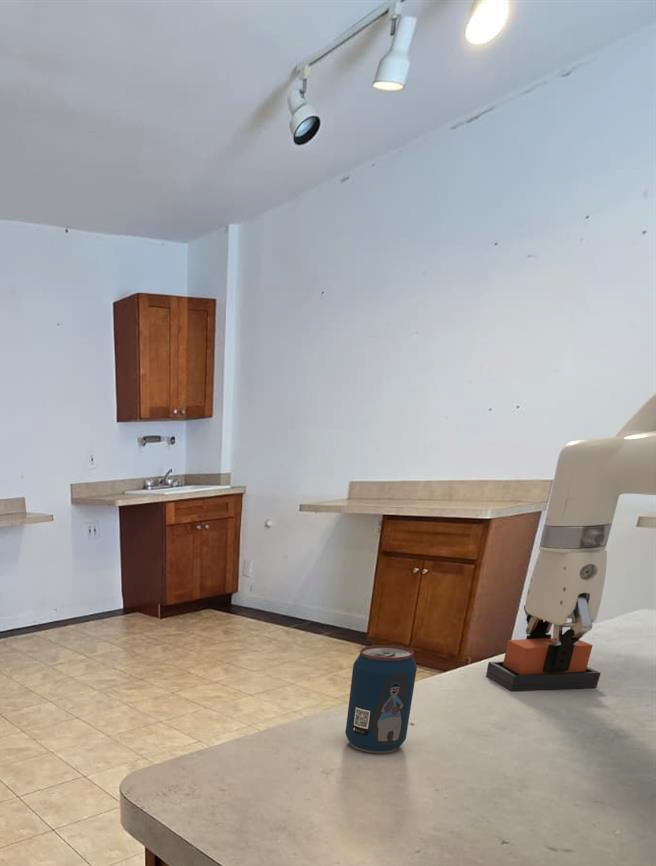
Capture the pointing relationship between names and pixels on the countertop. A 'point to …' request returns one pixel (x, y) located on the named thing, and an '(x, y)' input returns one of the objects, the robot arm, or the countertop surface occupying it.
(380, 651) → the soda can
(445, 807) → the countertop surface
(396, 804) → the countertop surface
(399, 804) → the countertop surface
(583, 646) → the red brick
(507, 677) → the black rectangular tray
